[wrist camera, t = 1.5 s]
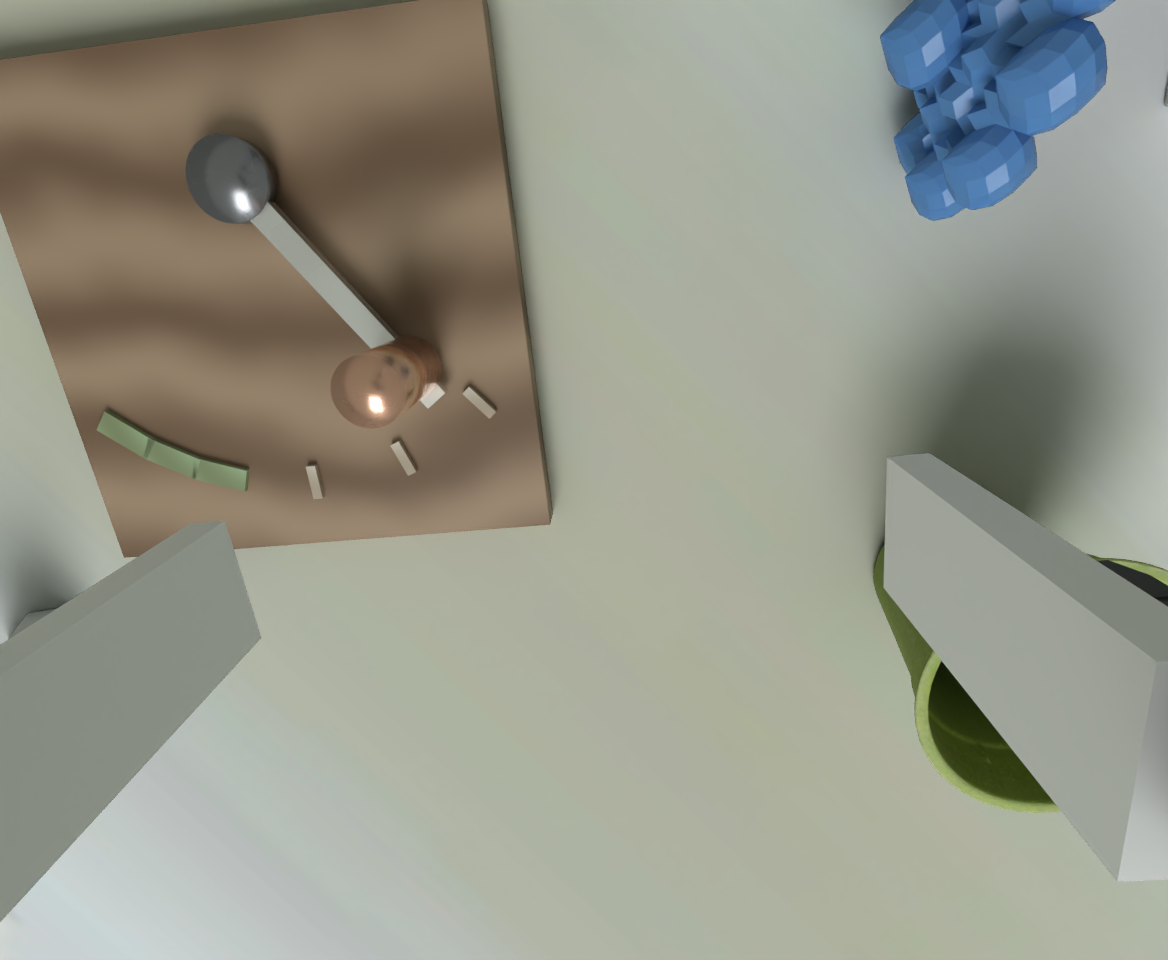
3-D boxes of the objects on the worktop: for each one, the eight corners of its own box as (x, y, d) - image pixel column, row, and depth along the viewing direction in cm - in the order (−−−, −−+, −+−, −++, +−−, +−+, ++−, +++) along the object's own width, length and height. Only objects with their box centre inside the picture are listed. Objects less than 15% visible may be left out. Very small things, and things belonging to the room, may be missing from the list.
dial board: (-22, 75, 31) (-59, 65, 29) (487, 3, 29) (479, -12, 27) (142, 546, 39) (120, 559, 37) (552, 513, 37) (549, 526, 35)
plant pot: (893, 693, 40) (994, 856, 29) (791, 541, 37) (862, 661, 26) (1089, 593, 37) (1281, 733, 26) (996, 421, 34) (1168, 500, 23)
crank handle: (183, 177, 30) (80, 160, 24) (232, 118, 29) (138, 86, 24) (415, 420, 33) (373, 456, 28) (466, 374, 33) (433, 401, 27)
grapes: (858, -87, 27) (1026, -322, 16) (1024, -76, 27) (1312, -305, 16) (805, 216, 31) (912, 199, 20) (951, 228, 31) (1141, 216, 20)
